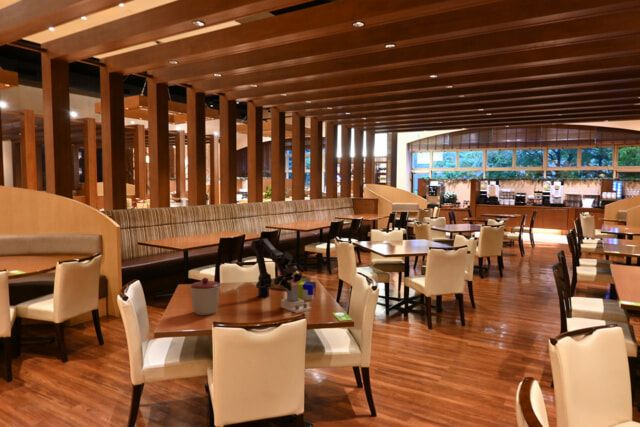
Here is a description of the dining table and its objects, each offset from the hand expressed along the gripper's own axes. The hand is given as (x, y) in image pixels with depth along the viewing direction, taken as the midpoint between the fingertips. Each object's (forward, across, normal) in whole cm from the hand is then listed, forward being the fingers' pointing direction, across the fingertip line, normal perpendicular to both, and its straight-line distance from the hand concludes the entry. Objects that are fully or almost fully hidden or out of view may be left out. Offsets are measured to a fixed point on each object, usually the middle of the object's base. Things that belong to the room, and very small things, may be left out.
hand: (293, 289), depth 274 cm
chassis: (+9, 0, +7) cm, 11 cm away
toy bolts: (-26, +37, +43) cm, 63 cm away
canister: (-8, -48, +24) cm, 54 cm away
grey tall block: (+4, 0, +6) cm, 7 cm away
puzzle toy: (-2, +21, +18) cm, 28 cm away
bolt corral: (-27, +33, +43) cm, 60 cm away
